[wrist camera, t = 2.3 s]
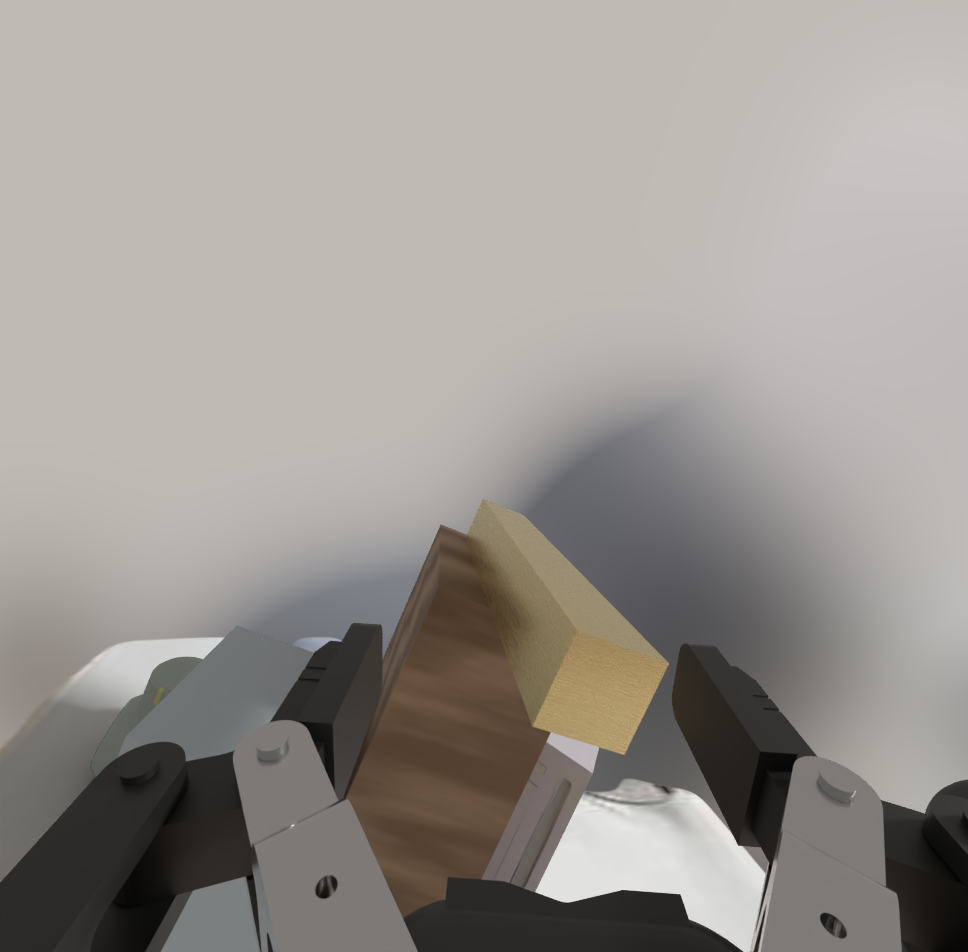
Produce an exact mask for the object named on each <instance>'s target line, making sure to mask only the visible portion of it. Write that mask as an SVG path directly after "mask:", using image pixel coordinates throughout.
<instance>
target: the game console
mask: <svg viewBox="0 0 968 952" xmlns="http://www.w3.org/2000/svg"><path fill="white" fill-rule="evenodd" d="M598 750H599V747H597V746H594V745H590V744H587V743H584V742H581V741H577V740H574V739H571V738H568V737H565V736H561V735H558V734H555V733H552V732H551V733H550V735H549V737H548V740H547V742H546V744H545V746H544V748H543V750H542V752H541V754H540V757H539V759H538V761H537V763H536V765H535V767H534V769H533V771H532V773H531V776H530V778H529V780H528V782H527V784H526V786H525V788H524V790H523V792H522V795H521V797H520V799H519V801H518V803H517V805H516V807H515V809H514V811H513V814H512V816H511V818H510V820H509V822H508V824H507V826H506V828H505V830H504V833H503V835H502V837H501V839H500V841H499V843H498V845H497V847H496V849H495V852H494V854H493V856H492V858H491V860H490V862H489V864H488V866H487V868H486V871H485V873H484V875H483V877H482V880H495V881H505V882H508V883H511V884H513V885H516V886H519V887H522V888H524V889H527V890H530V891H533V892H535V891H536V889H537V887H538V885H539V883H540V881H541V879H542V876H543V874H544V872H545V870H546V868H547V866H548V864H549V862H550V860H551V858H552V856H553V854H554V852H555V850H556V848H557V846H558V844H559V841H560V839H561V837H562V835H563V833H564V831H565V829H566V827H567V825H568V823H569V821H570V819H571V817H572V815H573V813H574V811H575V809H576V807H577V804H578V802H579V800H580V798H581V796H582V794H583V792H584V790H585V788H586V786H587V784H588V782H589V780H590V778H591V776H592V774H593V770H594V765H595V761H596V757H597V753H598Z"/></svg>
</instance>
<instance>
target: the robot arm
mask: <svg viewBox="0 0 968 952" xmlns="http://www.w3.org/2000/svg"><path fill="white" fill-rule="evenodd" d="M381 685H382V627H381V625H378V624H363V623H353V624H352V625H351V626H350V628H349V630H348V632H347V633H346V635H345V637H344V639H343V640H342V642H338V641H329V642H328V643H327V644H325V645H324V646H323V647H321V648H320V649H319V650H317V651H316V652H315V653H314V654H313V656H312V657H311V659H310V660H309V662H308V663H307V665H306V668H305V669H304V670H303V671H302V673H301V674H300V676H299V677H298V681H296V682H295V684H294V685H293V687H292V688H291V690H290V691H289V693H288V695H287V696H286V698H285V699H284V701H283V702H282V704H281V705H280V707H279V709H278V710H277V712H276V713H275V715H274V716H273V718H272V719H271V721H270V723H267V724H264V725H262V726H260V727H258V728H256V729H254V730H253V731H251V732H250V733H248V734H247V735H246V736H245V737H244V738H243V739H242V740H241V741H240V742H239V744H238V745H237V747H236V749H235V750H234V751H231V752H228V753H225V754H221V755H217V756H211V757H206V758H201V759H196V760H191V761H186V756H185V751H184V749H183V748H182V747H181V746H180V745H178V744H176V743H172V742H155V743H150V744H146V745H142V746H140V747H137V748H134V749H132V750H130V751H128V752H126V753H124V754H123V755H121V756H119V757H118V758H116V759H115V760H113V761H112V762H111V763H110V764H108V765H107V766H106V767H105V768H104V769H103V770H102V771H101V772H100V773H99V774H98V775H97V776H96V778H95V779H94V780H93V781H92V782H91V783H90V784H89V785H88V786H87V788H86V789H85V790H84V791H83V792H82V793H81V794H80V795H79V796H78V797H77V799H76V800H75V801H74V802H73V803H72V804H71V805H70V806H69V807H68V809H67V810H66V811H65V812H64V813H63V814H62V815H61V816H60V817H59V818H58V820H57V821H56V822H55V823H54V824H53V825H52V826H51V827H50V828H49V830H48V831H47V832H46V833H45V834H44V835H43V836H42V837H41V838H40V839H39V841H38V842H37V843H36V844H35V845H34V846H33V847H32V848H31V849H30V851H29V852H28V853H27V854H26V855H25V856H24V857H23V858H22V859H21V860H20V862H19V863H18V864H17V865H16V866H15V867H14V868H13V869H12V870H11V872H10V873H9V874H8V875H7V876H6V877H5V878H4V879H3V880H2V881H1V883H0V952H161V951H162V949H163V947H164V945H165V943H166V941H167V939H168V937H169V935H170V934H171V932H172V930H173V928H174V926H175V924H176V922H177V920H178V918H179V916H180V915H181V913H182V911H183V909H184V907H185V905H186V903H187V901H188V899H189V897H190V895H191V894H192V892H193V891H194V890H197V889H201V888H205V887H208V886H212V885H216V884H220V883H223V882H227V881H231V880H235V879H238V878H242V877H244V879H245V885H246V890H247V895H248V901H249V906H250V911H251V917H252V922H253V927H254V933H255V938H256V944H257V949H258V952H743V951H742V950H740V949H739V948H738V947H736V946H735V945H734V944H732V943H731V942H730V941H728V940H727V939H725V938H724V937H722V936H720V935H719V934H717V933H716V932H714V931H712V930H711V929H709V928H707V927H705V926H703V925H701V924H698V923H696V922H694V921H691V920H689V919H688V916H687V913H686V910H685V907H684V904H683V901H682V898H681V895H680V894H668V893H655V892H641V891H628V890H621V891H617V892H613V893H608V894H604V895H600V896H596V897H591V898H587V899H583V900H579V901H575V902H569V903H565V902H560V901H557V900H554V899H552V898H549V897H546V896H543V895H541V894H538V893H535V892H533V891H530V890H527V889H524V888H522V887H519V886H516V885H513V884H511V883H508V882H505V881H495V880H482V879H468V878H455V877H448V879H447V889H446V899H445V900H441V901H437V902H433V903H431V904H428V905H426V906H423V907H421V908H419V909H417V910H415V911H413V912H412V913H410V914H408V915H406V916H405V917H404V918H402V915H401V913H400V911H399V909H398V906H397V904H396V902H395V900H394V898H393V895H392V893H391V891H390V889H389V887H388V884H387V882H386V880H385V878H384V875H383V873H382V871H381V869H380V867H379V864H378V862H377V860H376V858H375V855H374V853H373V851H372V849H371V847H370V844H369V842H368V840H367V838H366V835H365V833H364V831H363V829H362V827H361V824H360V822H359V820H358V818H357V816H356V813H355V811H354V809H353V807H352V805H351V803H350V801H349V800H348V799H347V798H343V797H344V794H345V791H346V788H347V786H348V783H349V780H350V777H351V775H352V772H353V769H354V766H355V764H356V761H357V758H358V755H359V752H360V750H361V747H362V744H363V741H364V739H365V736H366V733H367V730H368V728H369V725H370V722H371V719H372V716H373V714H374V711H375V708H376V705H377V703H378V700H379V696H380V691H381ZM672 706H673V712H674V716H675V718H676V721H677V723H678V725H679V727H680V729H681V731H682V733H683V735H684V737H685V739H686V741H687V743H688V745H689V747H690V749H691V751H692V753H693V755H694V757H695V759H696V761H697V763H698V765H699V767H700V769H701V771H702V773H703V775H704V777H705V779H706V781H707V783H708V785H709V787H710V790H711V791H712V794H713V796H714V798H715V800H716V802H717V804H718V805H719V808H720V809H721V812H722V814H723V816H724V818H725V820H726V821H727V824H728V826H729V828H730V830H731V832H732V834H733V836H734V838H735V840H736V842H737V844H738V846H751V847H761V848H762V850H763V852H764V854H765V856H766V858H767V859H768V861H769V863H768V867H767V871H766V876H765V881H764V885H763V890H762V895H761V900H760V905H759V910H758V915H757V920H756V925H755V930H754V934H753V939H752V944H751V949H750V952H968V780H964V781H959V782H955V783H953V784H951V785H949V786H947V787H945V788H943V789H942V790H940V791H939V792H938V793H937V794H936V795H935V796H934V797H933V798H932V800H931V801H930V803H929V805H928V807H927V809H926V813H925V814H924V813H921V812H918V811H914V810H911V809H908V808H905V807H902V806H898V805H895V804H892V803H888V802H885V801H882V800H880V798H879V797H878V795H877V793H876V792H875V791H874V790H873V788H872V787H871V786H870V785H868V783H867V782H866V781H864V780H863V779H862V778H861V777H860V776H858V775H857V774H855V773H854V772H852V771H851V770H849V769H847V768H846V767H844V766H842V765H840V764H838V763H836V762H833V761H831V760H828V759H824V758H820V757H817V756H816V755H815V753H814V752H813V751H812V750H811V749H810V747H809V746H808V745H807V743H806V742H805V741H804V740H803V739H802V737H801V736H800V735H799V734H798V732H797V731H796V730H795V729H794V727H793V726H792V725H791V724H790V722H789V721H788V720H787V719H786V717H785V716H784V715H783V714H782V713H781V712H779V709H778V708H777V706H776V705H775V704H774V703H773V701H772V700H771V699H768V695H767V694H766V693H765V692H764V690H763V689H762V688H761V687H760V685H759V684H758V683H757V682H756V680H754V679H753V678H751V677H750V676H749V675H747V674H746V673H745V672H743V671H742V670H741V669H739V668H738V667H735V666H730V665H729V663H728V662H727V661H726V659H725V658H724V657H723V656H722V654H721V653H720V652H719V650H718V649H717V648H716V647H715V646H713V645H702V644H683V645H682V646H681V648H680V652H679V657H678V663H677V669H676V675H675V680H674V686H673V692H672Z"/></svg>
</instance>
